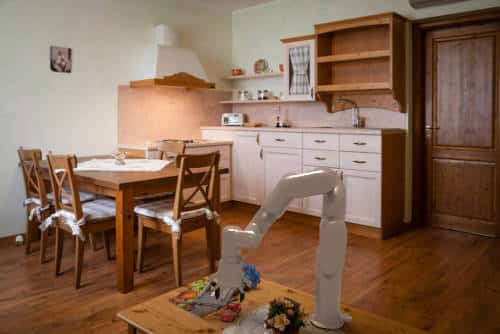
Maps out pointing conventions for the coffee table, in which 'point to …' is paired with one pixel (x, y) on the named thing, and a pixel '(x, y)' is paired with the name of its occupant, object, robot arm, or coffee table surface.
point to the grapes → (251, 275)
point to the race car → (230, 311)
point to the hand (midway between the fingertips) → (229, 299)
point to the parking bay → (212, 297)
